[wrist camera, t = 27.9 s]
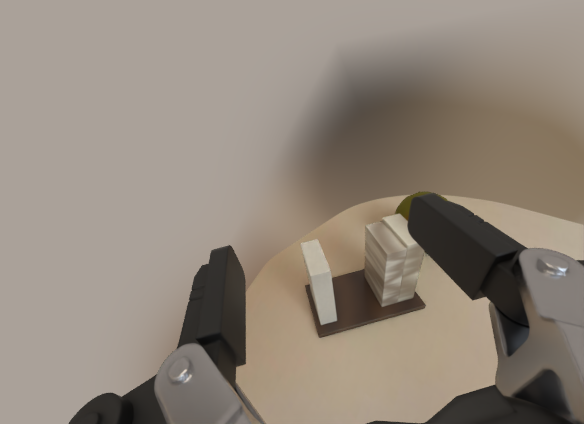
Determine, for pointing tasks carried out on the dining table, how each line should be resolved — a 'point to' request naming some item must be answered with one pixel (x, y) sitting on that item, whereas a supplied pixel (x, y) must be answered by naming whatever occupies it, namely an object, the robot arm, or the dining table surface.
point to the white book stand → (377, 279)
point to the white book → (319, 281)
